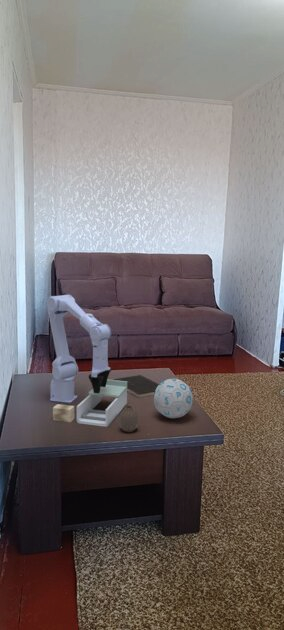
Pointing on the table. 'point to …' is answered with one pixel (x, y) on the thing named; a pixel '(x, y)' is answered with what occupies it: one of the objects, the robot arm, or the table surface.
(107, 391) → the lid
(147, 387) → the hardcover book
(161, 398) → the puzzle ball
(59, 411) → the tan rectangular block
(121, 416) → the vase
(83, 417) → the housing
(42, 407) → the table surface
